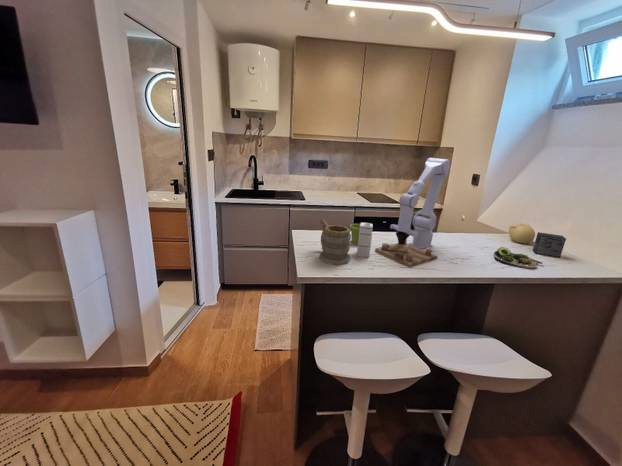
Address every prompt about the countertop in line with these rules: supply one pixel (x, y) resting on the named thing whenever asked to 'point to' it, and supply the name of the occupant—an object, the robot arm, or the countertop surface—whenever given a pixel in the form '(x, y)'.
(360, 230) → the syrup box
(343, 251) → the tankard
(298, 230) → the countertop surface
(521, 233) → the pale yellow rounded lump
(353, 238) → the plant pot
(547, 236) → the small box
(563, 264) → the countertop surface
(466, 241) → the countertop surface
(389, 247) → the long beige beam
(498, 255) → the salad plate
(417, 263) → the brown wooden flat board
